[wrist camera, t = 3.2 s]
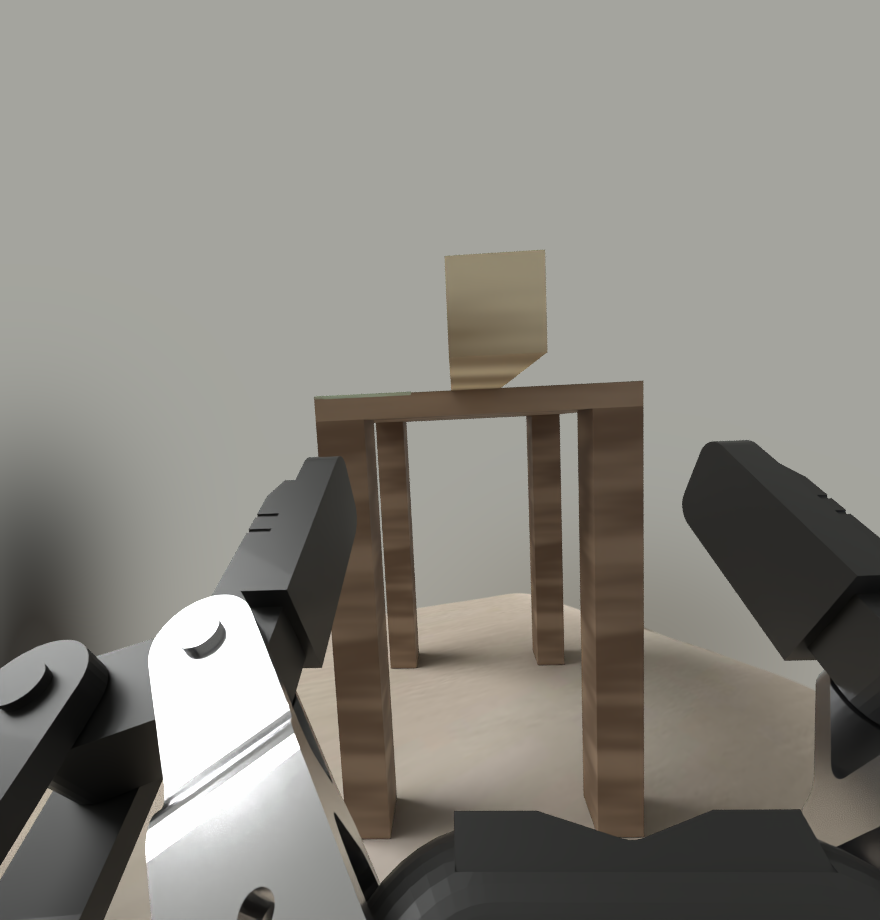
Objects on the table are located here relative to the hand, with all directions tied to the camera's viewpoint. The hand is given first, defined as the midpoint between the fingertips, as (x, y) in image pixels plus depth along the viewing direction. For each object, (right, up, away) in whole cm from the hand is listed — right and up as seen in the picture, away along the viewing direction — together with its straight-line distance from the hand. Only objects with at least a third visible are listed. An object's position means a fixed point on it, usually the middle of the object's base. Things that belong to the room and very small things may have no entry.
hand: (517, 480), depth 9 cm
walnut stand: (+2, -24, +28) cm, 37 cm away
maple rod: (+1, +5, +19) cm, 20 cm away
